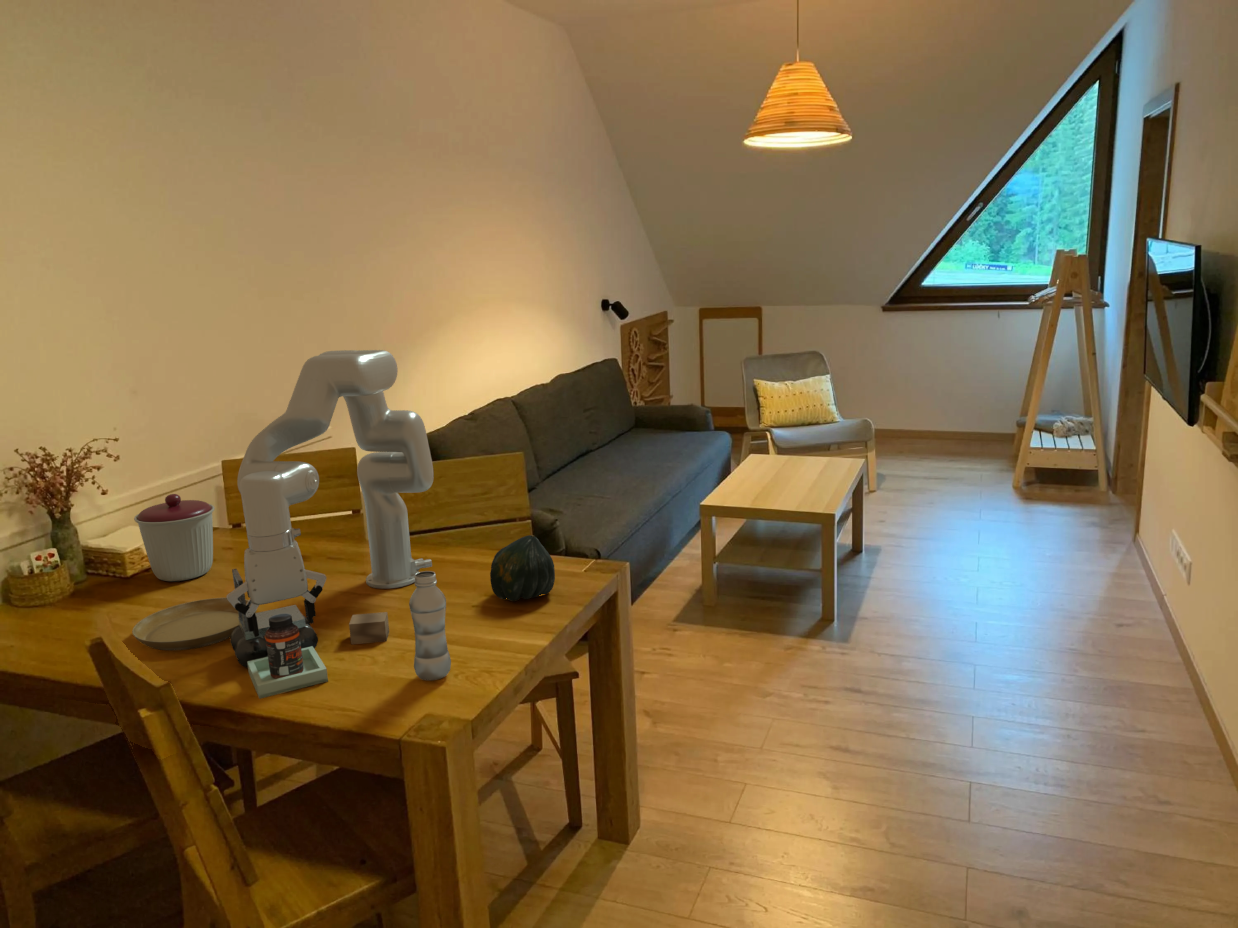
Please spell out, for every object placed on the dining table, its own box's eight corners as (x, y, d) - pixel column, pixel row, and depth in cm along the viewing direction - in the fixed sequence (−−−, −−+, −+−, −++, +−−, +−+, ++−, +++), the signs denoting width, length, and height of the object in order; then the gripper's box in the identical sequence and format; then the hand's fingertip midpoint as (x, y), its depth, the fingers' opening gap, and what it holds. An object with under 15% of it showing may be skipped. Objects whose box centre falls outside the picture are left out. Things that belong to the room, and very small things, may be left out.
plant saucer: (116, 636, 190) (113, 622, 190) (227, 602, 208) (225, 589, 207) (163, 667, 174) (160, 651, 174) (279, 627, 192) (277, 613, 191)
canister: (238, 569, 230) (227, 489, 225) (171, 592, 215) (158, 507, 210) (196, 558, 239) (184, 482, 234) (129, 580, 224) (115, 499, 220)
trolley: (309, 636, 186) (300, 556, 182) (319, 652, 178) (309, 568, 174) (232, 654, 178) (220, 571, 174) (238, 671, 171) (226, 584, 167)
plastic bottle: (417, 670, 169) (408, 569, 164) (453, 667, 169) (445, 567, 165) (412, 686, 162) (402, 581, 158) (450, 683, 163) (441, 579, 158)
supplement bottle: (292, 682, 164) (284, 624, 162) (264, 680, 166) (255, 622, 163) (310, 667, 170) (303, 611, 167) (283, 665, 171) (275, 610, 169)
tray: (314, 657, 176) (312, 645, 175) (328, 681, 166) (326, 668, 165) (248, 673, 170) (247, 661, 169) (259, 698, 160) (257, 685, 159)
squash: (468, 574, 203) (497, 533, 195) (514, 558, 215) (543, 519, 207) (503, 624, 199) (535, 584, 191) (548, 604, 211) (580, 566, 202)
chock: (389, 632, 187) (387, 611, 186) (386, 641, 182) (384, 621, 181) (354, 635, 186) (352, 614, 185) (351, 645, 181) (349, 624, 180)
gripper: (315, 525, 169) (326, 609, 173) (216, 544, 161) (230, 631, 165) (324, 535, 163) (335, 622, 167) (222, 555, 155) (236, 646, 159)
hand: (283, 627), depth 166 cm, fingers open, 9 cm apart
